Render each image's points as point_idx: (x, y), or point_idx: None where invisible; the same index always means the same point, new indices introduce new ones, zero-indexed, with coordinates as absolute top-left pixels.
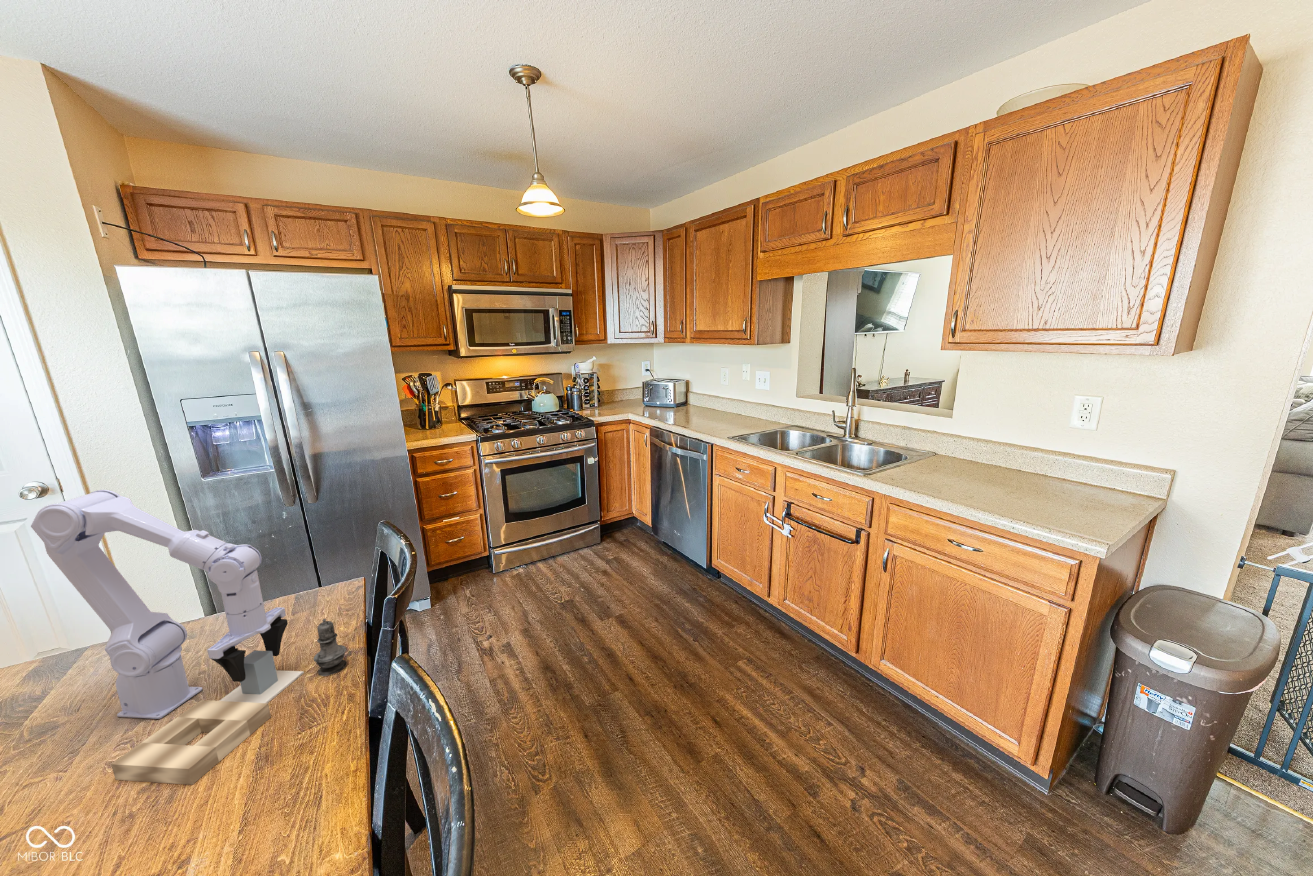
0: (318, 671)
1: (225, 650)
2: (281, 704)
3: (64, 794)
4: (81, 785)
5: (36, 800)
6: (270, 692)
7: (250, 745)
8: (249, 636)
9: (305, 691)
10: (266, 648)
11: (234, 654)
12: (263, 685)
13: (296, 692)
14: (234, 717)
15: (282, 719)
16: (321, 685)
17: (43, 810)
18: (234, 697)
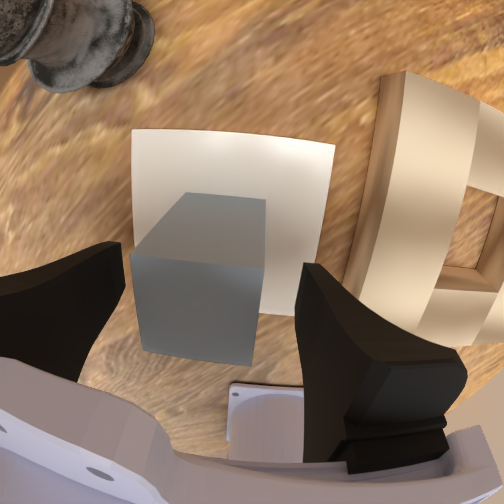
0: (129, 73)
1: (407, 467)
2: (316, 79)
3: (481, 362)
4: (474, 358)
5: (473, 383)
6: (255, 167)
7: (476, 77)
8: (284, 492)
9: (243, 36)
10: (107, 312)
11: (436, 392)
12: (246, 204)
13: (248, 67)
14: (463, 160)
15: (390, 32)
16: (210, 2)
17: (498, 357)
18: (276, 281)
